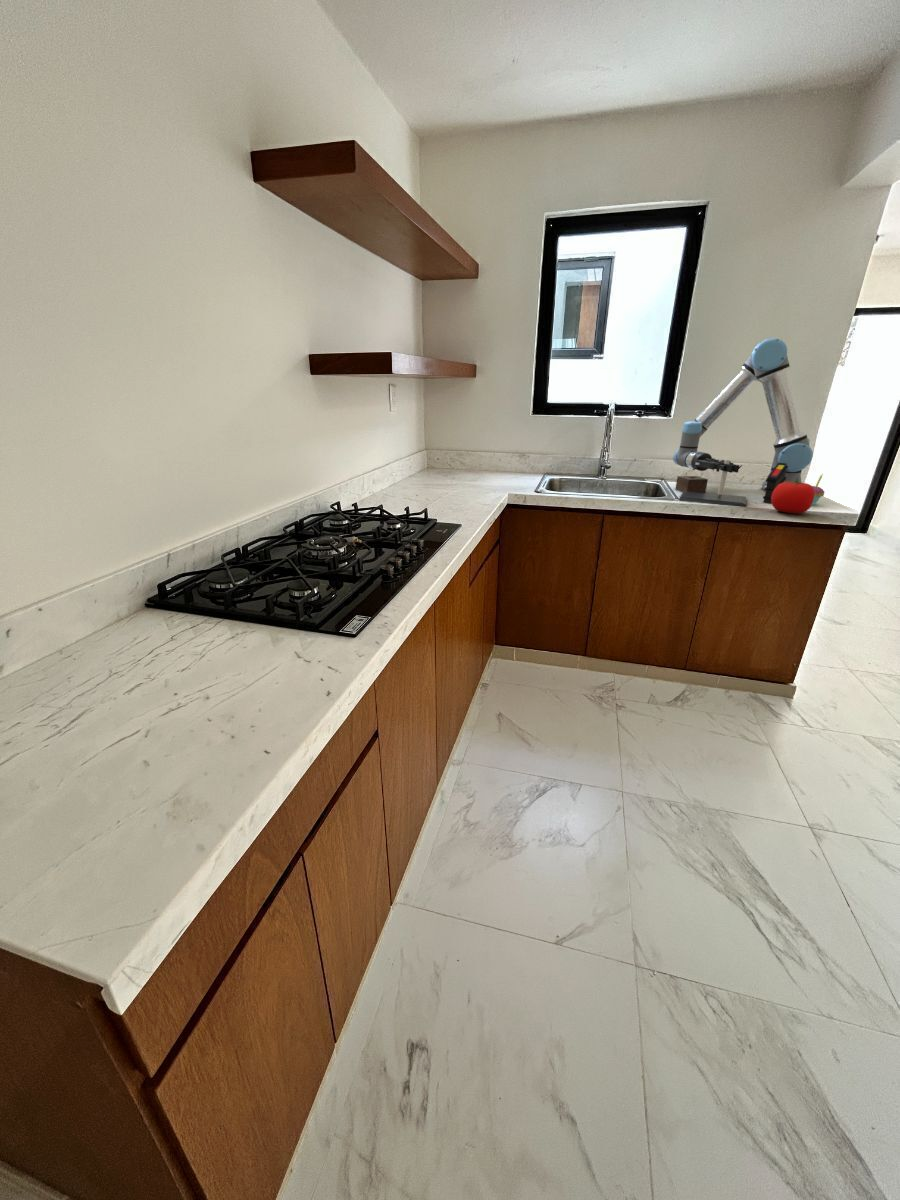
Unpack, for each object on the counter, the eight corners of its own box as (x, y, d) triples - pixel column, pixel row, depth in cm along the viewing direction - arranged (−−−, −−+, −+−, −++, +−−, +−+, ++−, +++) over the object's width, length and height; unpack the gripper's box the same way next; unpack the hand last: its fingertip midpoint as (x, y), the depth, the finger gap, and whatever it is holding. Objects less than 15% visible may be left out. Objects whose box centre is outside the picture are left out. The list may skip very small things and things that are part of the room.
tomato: (813, 512, 186) (822, 480, 181) (803, 518, 177) (813, 485, 172) (774, 507, 194) (782, 476, 190) (763, 512, 185) (771, 480, 181)
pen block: (693, 489, 229) (695, 475, 226) (705, 492, 221) (708, 479, 218) (675, 489, 228) (677, 476, 225) (686, 493, 219) (689, 479, 217)
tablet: (745, 499, 208) (746, 496, 208) (745, 506, 195) (746, 503, 194) (683, 493, 219) (683, 490, 218) (679, 500, 205) (679, 497, 205)
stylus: (722, 496, 207) (730, 459, 201) (721, 497, 205) (730, 459, 199) (717, 496, 208) (725, 458, 202) (717, 496, 206) (725, 459, 200)
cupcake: (815, 502, 203) (824, 472, 198) (824, 506, 195) (834, 475, 190) (792, 501, 205) (800, 471, 200) (800, 505, 197) (809, 474, 192)
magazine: (784, 494, 208) (788, 463, 199) (771, 512, 203) (774, 480, 194) (774, 493, 211) (777, 462, 201) (761, 511, 205) (764, 479, 196)
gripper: (713, 469, 221) (749, 478, 199) (682, 470, 219) (715, 479, 197) (716, 452, 218) (754, 459, 196) (685, 452, 216) (719, 459, 194)
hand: (735, 469), depth 197 cm, fingers closed on stylus, 2 cm apart
